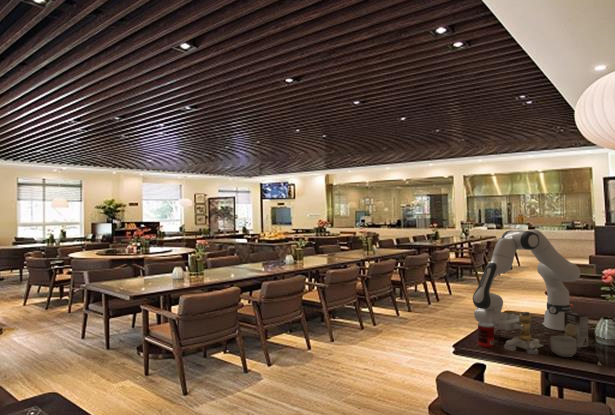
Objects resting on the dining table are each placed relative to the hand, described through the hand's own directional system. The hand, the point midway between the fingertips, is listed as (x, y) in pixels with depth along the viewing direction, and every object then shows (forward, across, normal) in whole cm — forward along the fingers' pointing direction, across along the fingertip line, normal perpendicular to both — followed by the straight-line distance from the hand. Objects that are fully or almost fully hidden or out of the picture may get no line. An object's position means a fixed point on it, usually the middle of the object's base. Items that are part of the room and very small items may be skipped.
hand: (526, 326), depth 217 cm
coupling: (-1, 0, +7) cm, 7 cm away
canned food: (-11, -18, +10) cm, 23 cm away
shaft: (+6, -7, +10) cm, 13 cm away
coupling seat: (-1, -4, +10) cm, 10 cm away
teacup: (+18, +3, +10) cm, 20 cm away
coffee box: (+12, +23, +10) cm, 28 cm away
